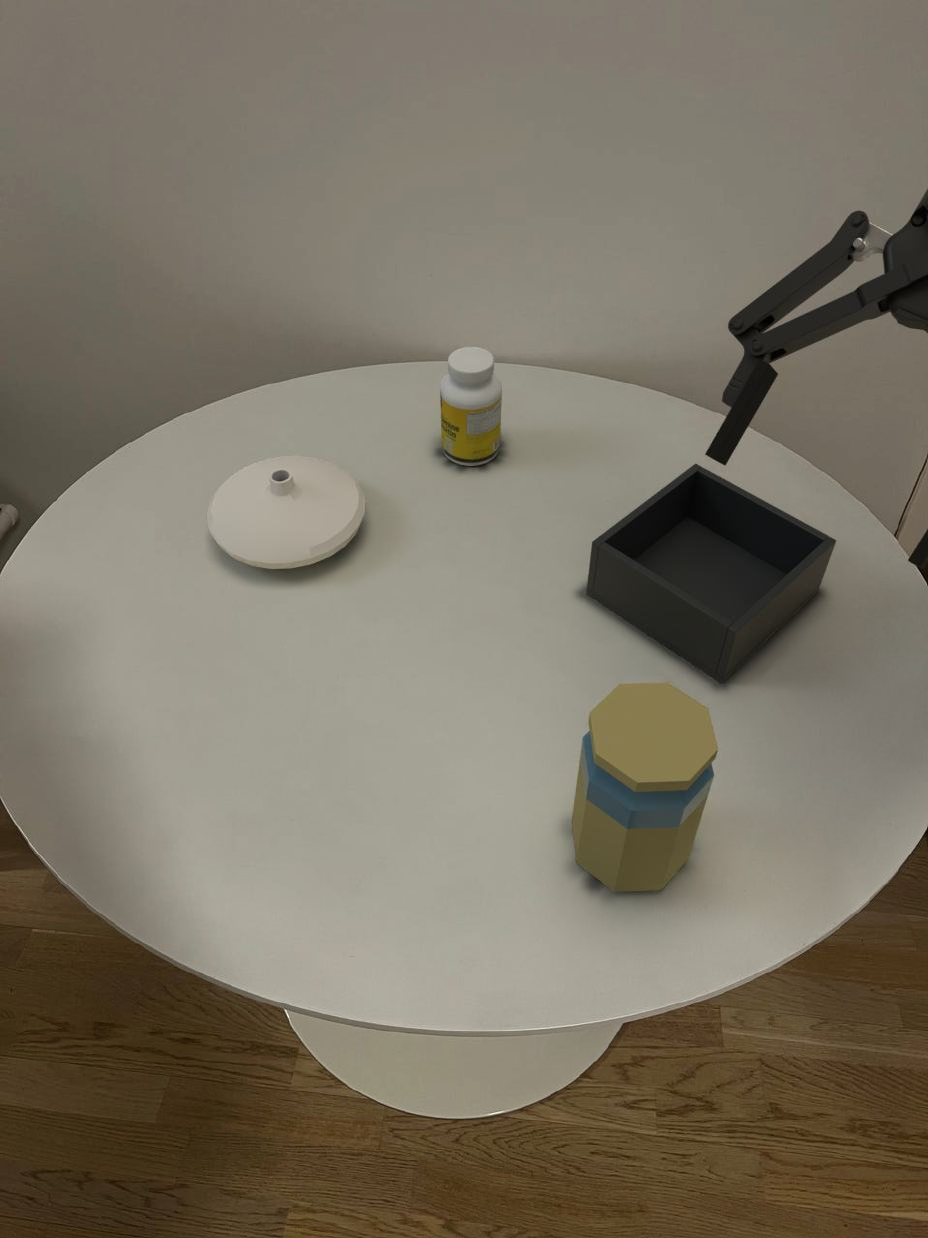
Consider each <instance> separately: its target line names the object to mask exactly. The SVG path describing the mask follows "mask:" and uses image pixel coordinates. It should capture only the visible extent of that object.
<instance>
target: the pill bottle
mask: <svg viewBox="0 0 928 1238" xmlns="http://www.w3.org/2000/svg"><path fill="white" fill-rule="evenodd" d="M494 370H495V359H494V356H493V354H492V353H491V352H490V351H488V350H487V349H485V348H481V347H477V346H465V347H460V348H458V349H455V350H454V351H452V352H451V353H450V354H449V356H448V358H447V371H448V373H446V375H445V376H444V377H443V378H442V380H441V382H440V385H439V386H440V388H439V402H440V433H441V434H440V435H441V436H440V438H441V439H440V440H441V450H442V452H443V454H444V455H445V456H446V458H447V459H449V461H452V462H453V463H455V464H457V465H460V466H467V467H473V466H480V465H481V466H482V465H484V464H487V463H488V462H491V461H492V460H493V459H495V457H496V456H497V455H498V454H499V451H500V448H501V433H502V432H501V431H502V430H501V429H502V428H501V426H502V403H503V402H502V401H503V400H502V399H503V397H502V396H503V387H502V386H503V385H502V382H501V380H500V378H499V377H498V375H497V374H496V373H495V371H494Z"/></svg>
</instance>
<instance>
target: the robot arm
mask: <svg viewBox="0 0 928 1238" xmlns="http://www.w3.org/2000/svg"><path fill="white" fill-rule="evenodd" d="M875 254H882V261H883V262H882V264H883V273H882V274H881V275H879V276H876V277H874V278H872V279H870V280H868V281H866V282H863V283H862V284H860V285H859V286H857V288H856V289H854V290H853V291H851V292H849V293H847V294H845V295H842V296H840V297H838V298H835V299H834V300H833V299H832V301H829V302H827V303H824V304H823V305H821V306H818V307H817V308H814V309H812V310H810V311H808V312H805V313H803V314H801V315H799V316H797V317H795V318H793V319H789V320H788V321H787V322H784V323H782V324H779V325H777V326H775V327H773V326H774V325H776V324H778V323H779V322H780V321H781V320H783V319H784V318H785V317H786V316H788V315H789V314H790V313H791V312H793V311H794V310H796V308H798V307H800V306H801V305H802V304H803V303H805V302H806V301H807V300H809V299H810V298H811V297H812V296H815V294H817V293H818V292H819V291H821V290H822V289H823V288H824V287H826V286H827V285H828V284H829V283H831V282H833V280H835V279H837V278H838V277H839V276H841V275H842V274H843V273H844V272H846V270H848V269H849V268H850V267H851V265H853V264H854V262H857V263H861V262H864V261H866V260H867V259H869V258H870V257H871V256H872V255H875ZM889 313H890V314H891V316H892V317H893V318H894V319H895V320H896V323H897V324H898V325H901V326H903V327H905V328H908V329H912V330H913V329H914V330H920V331H924V332H925V333H927V334H928V188H927V189H926V191H925V192H924V194H923V196H922V197H921V199H920V201H919V202H918V204H917V205H916V208H915V209H914V210H913V212H912V215H911V216H910V217H909V220H908V221H907V222H906V224H905V225H904V226H902V227H901V228H900V229H899V230H898V231H896V232H894V233H891V232H889V231H888V230H886V229H884V228H882V227H880V226H879V225H877V224H875V223H873V222H871V221H870V220H869V216H868V214H867V213H866V212H865V211H863V210H855V211H853V212H851V213H850V214H849V215H848V216H847V218H845V221H844V222H843V223H842V225H841V226H840V227H839V228H838V230H837V231H836V233H835V234H834V235H833V237H832V238H831V240H830V241H829V242H828V243H826V244H825V245H824V246H822V247H821V248H820V249H819V250H817V251H816V252H815V253H814V254H812V255H811V256H810V257H808V258H807V259H805V260H804V261H803V262H802V263H801V264H800V265H797V267H795V268H794V269H793V270H792V271H790V272H789V273H788V274H786V275H784V277H782V278H781V279H780V280H779V281H777V282H776V283H774V285H772V286H771V287H769V289H767V290H766V291H764V292H763V293H761V294H760V295H759V296H758V297H757V298H755V299H754V300H753V301H752V302H750V303H749V304H748V305H746V306H745V307H743V309H741V310H740V311H738V312H737V313H735V314H734V315H733V316H732V317H731V318H730V319H729V320H728V323H727V328H728V331H729V333H730V334H731V335H732V336H733V337H734V338H735V339H736V340H737V342H738V343H740V345H742V348H743V355H742V358H741V360H740V362H739V363H738V365H737V367H736V369H735V371H734V372H733V374H732V376H731V378H730V379H729V382H728V384H727V385H726V387H725V388H724V390H723V392H722V398H721V402H722V403H724V404H725V405H726V406H728V407H729V408H730V410H729V412H728V413H727V415H726V417H725V418H724V420H723V421H722V423H721V425H720V426H719V429H718V430H717V431H716V434H715V436H714V438H713V439H712V441H711V443H710V445H709V446H708V447H707V450H706V451H705V453H704V455H705V456H706V457H708V458H710V459H712V460H713V461H715V462H717V463H719V464H720V465H723V466H725V467H726V466H727V464H728V462H729V460H730V459H731V457H732V455H733V454H734V451H735V450H736V448H737V446H738V445H739V443H740V441H741V440H742V438H743V436H744V434H745V433H746V431H747V429H748V428H749V426H750V424H751V422H752V421H753V419H754V417H755V415H756V414H757V412H758V410H759V409H760V407H761V405H762V403H763V402H764V400H765V398H766V396H767V395H768V393H769V391H770V389H771V387H772V386H773V384H774V383H775V381H776V380H777V377H778V375H779V373H778V372H777V371H776V370H775V368H774V367H773V366H772V363H773V362H776V361H778V360H780V359H782V358H785V357H787V356H789V355H791V354H794V353H796V352H799V351H800V350H803V349H804V348H807V347H810V346H812V345H814V344H816V343H818V342H820V341H823V340H825V339H827V338H829V337H832V336H833V335H836V334H838V333H840V332H843V331H845V330H847V329H850V328H852V327H854V326H856V325H858V324H861V323H863V322H865V321H869V320H871V321H872V320H875V319H878V318H879V317H882V316H885V315H886V314H889ZM772 327H773V328H772ZM907 561H908V562H909V563H910V564H911V565H914V566H916V567H918V568H920V569H922V570H924V569H925V567H926V566H927V564H928V528H927V530H926V531H925V532H924V533H923V536H922V537H921V539H920V540H919V542H918V543H917V545H916V546H915V548H914V550H913V551H912V552H911V554H910V556H909V557H908V559H907Z"/></svg>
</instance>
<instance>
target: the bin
mask: <svg viewBox="0 0 928 1238" xmlns="http://www.w3.org/2000/svg"><path fill="white" fill-rule="evenodd" d="M836 543H837V539H835V538H834V537H831V536H829V535H828V534H826V533H824V532H822V531H821V530H819V529H817V528H815V527H813V526H811V525H809V524H808V523H806V522H804V521H802V520H800V519H799V518H796V517H795V516H792V515H791V514H789V513H787V512H786V511H784V510H782V509H780V508H778V507H777V506H775V505H773V504H771V503H769V502H767V501H765V500H764V499H762V498H760V497H758V496H757V495H755V494H753V493H751V492H749V491H747V490H745V489H743V488H742V487H740V486H738V485H736V484H735V483H732V482H731V481H729V480H727V479H726V478H723V477H722V476H720V475H718V474H716V473H714V472H712V471H711V470H709V469H707V468H705V467H703V466H701V465H700V464H698V463H694V464H693V465H691V466H690V467H689V468H688V469H686V470H684V471H683V472H682V473H681V474H680V475H678V476H677V477H676V478H674V479H673V480H671V481H670V482H669V483H667V484H666V485H665V486H663V487H662V488H661V489H660V490H658V491H657V492H655V493H654V494H653V495H652V496H650V497H649V498H648V499H646V500H645V501H644V502H642V503H641V504H639V506H637V507H636V508H635V509H634V510H632V511H631V512H629V513H628V514H627V515H625V516H624V517H623V518H622V519H620V520H618V521H617V522H616V523H615V524H614V525H612V526H611V527H609V528H608V529H607V530H606V531H604V532H603V533H602V534H600V535H599V536H598V537H596V538H595V539H594V540H592V541H591V549H590V558H589V564H588V565H589V566H588V575H587V582H586V592H585V594H586V595H588V596H589V597H591V598H592V599H594V600H595V601H597V602H598V603H600V604H601V605H603V606H604V607H606V608H607V609H609V610H610V611H612V612H613V613H615V614H617V615H618V616H619V617H621V618H623V620H625V621H626V622H629V623H630V624H631V625H633V626H634V627H636V628H637V629H639V630H640V631H642V632H644V633H645V634H647V636H649V637H651V638H652V639H654V640H655V641H657V642H659V643H660V644H661V645H663V646H665V647H666V648H668V650H670V651H672V652H674V653H675V654H676V655H678V656H680V657H681V658H683V660H685V661H687V662H688V663H690V664H692V665H693V666H694V667H696V668H698V669H699V670H701V671H702V672H703V673H705V674H706V675H708V676H709V677H712V678H713V679H714V680H716V681H717V682H719V683H720V684H723V683H724V682H726V680H727V679H728V678H729V677H730V676H731V675H732V674H733V673H735V671H737V670H738V668H740V667H741V666H743V665H742V664H744V663H745V662H746V661H747V660H748V659H749V658H751V656H753V654H754V653H756V652H757V651H758V650H759V649H760V648H761V647H762V646H763V645H765V643H766V642H767V641H768V640H769V639H771V638H772V636H774V634H775V633H777V632H778V631H779V630H780V629H781V628H782V627H783V626H784V625H785V624H786V623H787V622H788V621H789V620H791V619H792V618H793V617H794V616H795V615H796V614H797V613H798V612H799V611H800V610H802V608H804V606H805V605H806V604H807V603H809V601H810V600H811V599H812V598H814V596H816V595H817V594H818V593H819V590H820V588H821V585H822V582H823V579H824V576H825V573H826V571H827V568H828V565H829V563H830V560H831V558H832V554H833V551H834V549H835V546H836Z"/></svg>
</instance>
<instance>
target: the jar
mask: <svg viewBox="0 0 928 1238" xmlns="http://www.w3.org/2000/svg"><path fill="white" fill-rule="evenodd" d="M588 729H589V730H588V731H587V732H586V733H585V734H584V735H583V736H582V739H581V740H582V742H581V749H580V757H579V761H578V762H579V763H578V769H577V777H576V786H575V793H574V802H573V807H572V808H573V809H572V816H571V828H572V835H573V843H574V844H573V845H574V851H575V861H576V863H577V865H579V866H580V867H582V868H583V869H584V870H585V871H587V872H588V873H589V874H590V875H591V876H593V877H594V878H596V879H597V880H598V881H599V882H601V883H602V884H603V885H604V886H606V887H607V888H609V890H611V891H612V892H613V893H617V892H619V893H621V892H641V891H642V892H643V891H644V892H645V891H662V890H663V889H664V888H665V886H666V885H667V884H668V883H670V880H672V879H673V877H674V876H675V875H676V874H677V873H678V871H680V869H681V868H682V867H683V866H684V865H685V863H686V862H687V861H688V859H689V858H690V856H691V851H692V848H693V845H694V842H695V839H696V837H697V833H698V829H699V827H700V822H701V820H702V816H703V812H704V809H705V807H706V803H707V801H708V797H709V793H710V790H711V788H712V784H713V781H714V777H715V772H714V768H713V764H712V763H713V762H714V760H716V758H717V755H718V752H719V745H718V741H717V738H716V733H715V730H714V725H713V721H712V717H711V713H710V709H709V707H708V706H706V705H704V704H703V703H701V702H699V701H698V700H697V699H695V698H693V697H691V696H690V695H689V694H688V693H685V692H684V691H682V690H680V689H679V688H678V687H676V686H674V685H673V684H671V683H670V682H668V681H663V682H662V681H661V682H660V681H659V682H658V681H657V682H635V683H634V682H633V683H631V682H629V683H619V684H617V686H616V687H614V688H613V689H612V690H611V691H610V692H609V694H607V695H606V696H605V697H604V698H603V699H602V700H601V701H600V702H599V703H598V704H597V705H595V707H593V709H592V710H590V712H589V716H588Z"/></svg>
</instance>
